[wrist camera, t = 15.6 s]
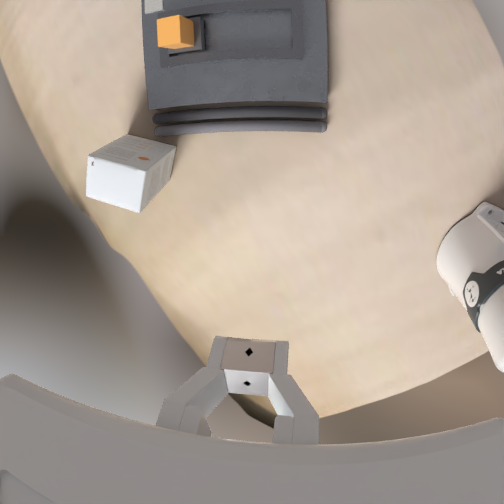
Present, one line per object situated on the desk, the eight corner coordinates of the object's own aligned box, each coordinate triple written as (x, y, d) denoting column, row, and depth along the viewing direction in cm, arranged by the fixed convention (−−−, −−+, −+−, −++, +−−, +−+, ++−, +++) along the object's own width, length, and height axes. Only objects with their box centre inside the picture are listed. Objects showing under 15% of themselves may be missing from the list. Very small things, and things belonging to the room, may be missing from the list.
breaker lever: (203, 18, 26) (186, 9, 21) (205, 49, 28) (188, 46, 23) (171, 24, 26) (149, 16, 21) (173, 54, 29) (151, 52, 24)
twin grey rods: (326, 107, 33) (328, 108, 32) (326, 131, 35) (327, 133, 34) (154, 113, 35) (150, 115, 34) (157, 135, 37) (153, 138, 36)
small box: (122, 167, 40) (83, 197, 32) (127, 132, 37) (86, 154, 29) (170, 181, 41) (139, 215, 32) (178, 145, 38) (146, 171, 29)
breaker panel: (321, -27, 23) (325, -36, 20) (325, 101, 33) (329, 104, 30) (147, -11, 25) (135, -16, 22) (155, 108, 35) (143, 112, 32)
